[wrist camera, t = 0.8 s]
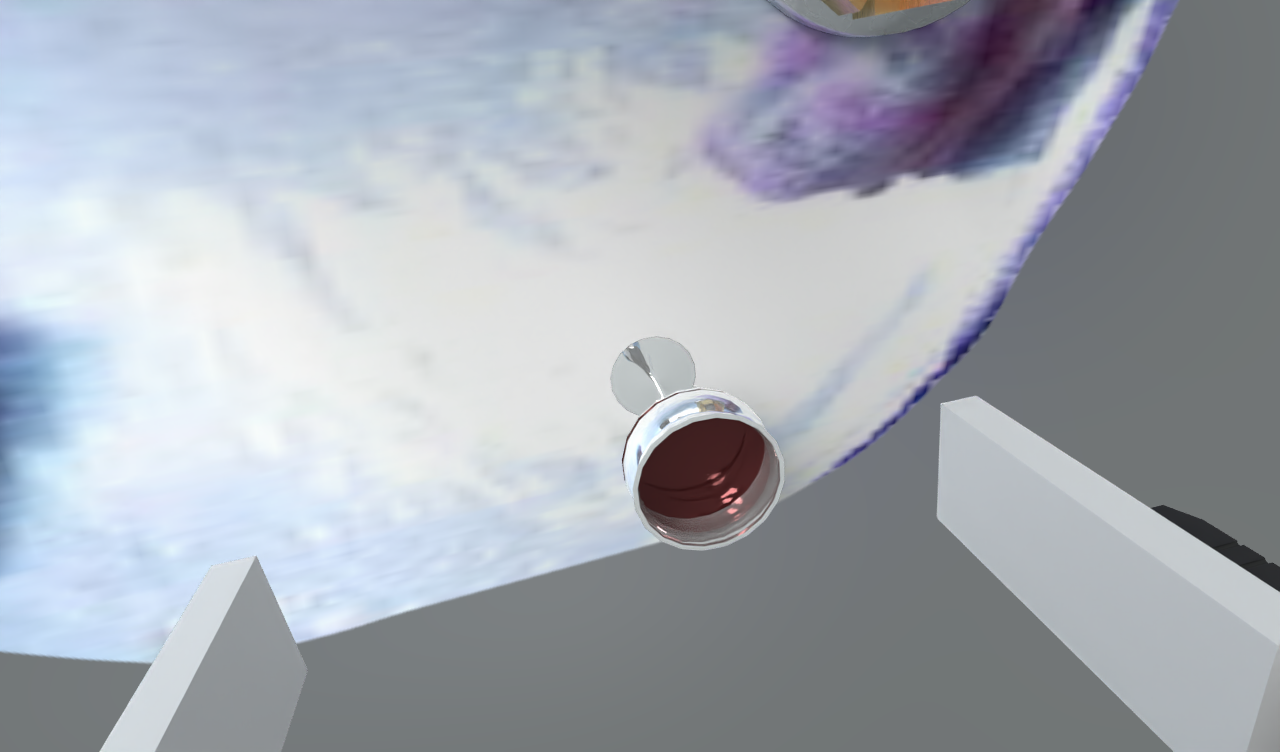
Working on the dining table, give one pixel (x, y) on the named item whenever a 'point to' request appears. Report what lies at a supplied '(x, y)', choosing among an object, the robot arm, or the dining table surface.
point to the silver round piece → (810, 11)
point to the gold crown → (874, 6)
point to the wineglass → (692, 451)
